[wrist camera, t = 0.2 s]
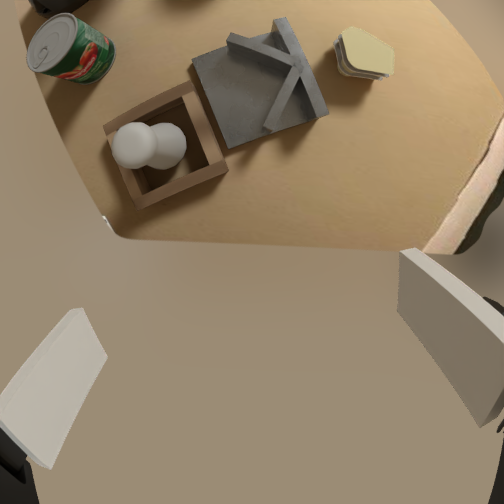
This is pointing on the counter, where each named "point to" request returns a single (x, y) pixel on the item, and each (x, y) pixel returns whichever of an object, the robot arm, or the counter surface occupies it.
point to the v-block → (260, 84)
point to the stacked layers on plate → (363, 55)
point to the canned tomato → (70, 50)
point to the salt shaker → (148, 145)
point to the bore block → (190, 97)
